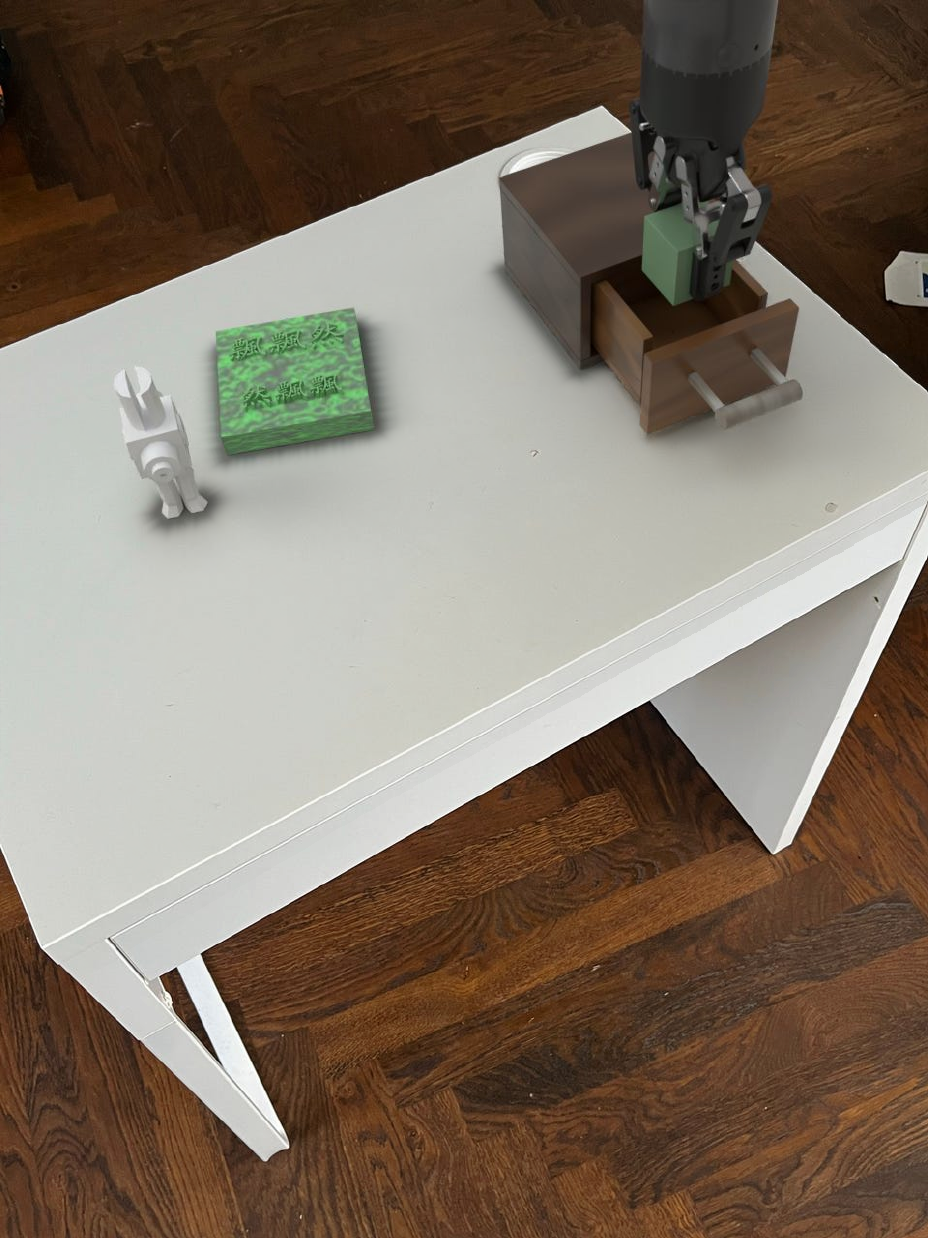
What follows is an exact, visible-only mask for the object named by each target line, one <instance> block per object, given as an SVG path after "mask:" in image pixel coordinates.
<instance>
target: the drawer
mask: <svg viewBox="0 0 928 1238" xmlns="http://www.w3.org/2000/svg"><path fill="white" fill-rule="evenodd" d="M768 296H769V292H768V291H767V289H765V288H764V287H763V285H761V284H760V283H759V281H758V280H757V279H756V278H755V277H753V275H752V274H750V272H749V271H748V270H747V269H746V268H745V267H744V266H743V265H742V264H741V263H740V262H739V261H738V259H736V260H733V262H732V270H731V278H730V285H728V286H726V287H723V289H722V291H721V292H719V293H718V294H717V295H714V296H712V297H709V298H706V299H704V300H701V301H695V300H694V299H691V300H688V301H686V302H683V303H680V304H678V305H675V306H673V305H672V304H671V303H670V302H669V301H668V299H667V298H666V297H665V296H664V295H663V294H662V293H661V291H660V290H659V289H658V288H657V287H656V286H655V285H654V284H653V282H652V281H651V280H650V279H649V278H648V277H647V276H646V274H645V273H644V272H643V271H642V265H640V266H637V267H634V268H632V269H629V270H626V271H623V272H621V273H618V274H615V275H612V276H610V277H607V278H604V279H601V280H599V281H596V282H593V283H591V337H590V342H591V344H592V345H593V346H594V348H595V349H596V350H597V351H598V353H599V354H600V355H601V357H602V358H603V359H604V362H605V363H606V364H607V366H608V368H610V369H611V371H612V372H613V373H614V374H615V376H616V377H617V378H618V380H619V381H620V382H621V384H622V385H623V386H624V388H625V389H626V390H627V391H628V392H629V394H630V395H631V396H632V397H633V399H634V401H636V403H637V404H638V406H640V414H639V427H640V428H641V429H642V430H643V432H644V433H645V434H646V436H649V435H652V434H654V433H656V432H659V431H662V430H664V429H665V430H666V429H667V428H669V427H672V426H675V425H677V424H680V423H682V422H685V421H687V420H690V419H691V418H692V419H693V418H694V417H697V416H700V415H702V414H705V413H708V412H710V411H713V412H714V418H715V421H716V424H717V426H718V427H719V429H720V430H722V431H726V430H729V429H731V428H735V427H736V426H739V425H741V424H744V423H746V422H749V421H752V420H754V419H757V418H760V417H762V416H764V415H766V414H769V413H772V412H774V411H777V410H778V409H782V408H784V407H786V406H789V405H792V404H794V403H796V402H799V401H801V400H802V399H803V397H804V392H803V387H802V385H801V383H800V382H799V381H798V380H797V379H794V378H793V379H790V380H788V379H787V372H788V368H789V361H790V357H791V352H792V347H793V343H794V338H795V331H796V327H797V326H796V325H797V321H798V316H799V312H800V306H798V305H797V304H796V303H795V301H793V300H792V298H790V297H789V298H787V299H784V300H782V301H779V302H776V303H773V304H770V305H768V306H767V302H768Z"/></svg>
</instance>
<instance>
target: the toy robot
mask: <svg viewBox="0 0 928 1238" xmlns="http://www.w3.org/2000/svg"><path fill="white" fill-rule="evenodd" d="M133 366H134V370H135V373H136V375H137V380H138V383H139V392H138V393H136V392H135V390H134V388H133V386H132V383H131V380H130V378H129V376H128V373H127V371H126V369H125V368H123V369H122V370H120V371H119V372H118V373H116V375H115V377H114V381H113V386H114V387H113V388H114V391H115V394H116V395H117V397H118V400H119V402H120V404H121V407H119V413H120V419H121V425H122V430H121V431H122V437H123V440H124V441H123V442H124V444H125V447H126V450H127V452H128V455H129V457H130V459H131V460H132V461H133V463H134V465H135V467H136V469H137V471H138V473H139V476H140V478H141V479H142V480H143V479H149V480H151V481H152V482H153V484H154V486H155V487H156V489H157V490H158V491H157V492H158V493H159V496H160V499H161V500H162V509H161V514H162V515H163V516H164V517H165V518H166V519H167V520H168V519H173V518H178V517H180V515H181V514H182V512H183V510H184V506H185V508H186V509H187V510H188V511H189V512H190V513H191V514H194V513H199V512H203V511H204V510H205V508H206V506H207V504H208V501H207V500H206V499H205V498H204V497H203V496H202V495H201V494H200V493H199V488H198V485H197V483H196V480H195V470H194V468H193V463H192V457H191V454H190V448H189V446H190V443H189V442H190V441H189V438H188V434H187V431H186V428H185V424H184V422H183V418H182V416H181V414H180V413H179V412H178V410H177V408H176V405H175V403H174V400H173V397H172V395H171V394H167V395H163V393H162V392H161V391H159V390H157V387H156V385H155V382H154V381H153V380H154V379H153V378H152V375H151V373H150V372H149V371H148V370H147V369H146V368H144V367H143V366H138V365H133ZM174 479H175V480H174ZM182 501H183V502H182ZM183 503H184V505H183Z"/></svg>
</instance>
